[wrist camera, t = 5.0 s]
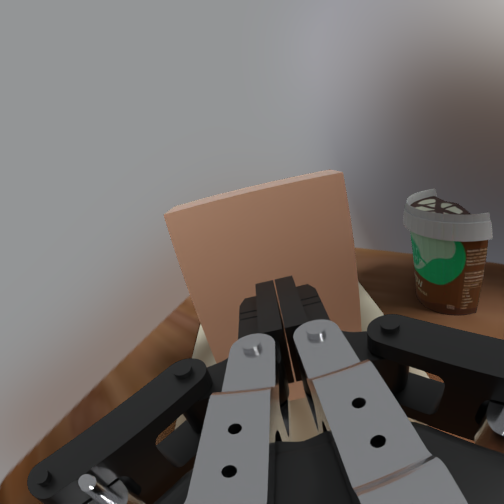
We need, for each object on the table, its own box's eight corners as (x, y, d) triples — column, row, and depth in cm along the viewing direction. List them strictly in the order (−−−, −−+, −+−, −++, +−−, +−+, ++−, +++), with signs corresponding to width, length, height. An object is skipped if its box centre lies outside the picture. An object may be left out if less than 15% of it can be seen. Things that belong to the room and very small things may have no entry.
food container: (392, 276, 33) (386, 194, 29) (436, 267, 31) (433, 187, 28) (427, 336, 21) (431, 225, 18) (482, 320, 20) (493, 214, 17)
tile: (352, 359, 20) (328, 169, 16) (362, 382, 18) (342, 172, 13) (237, 385, 21) (175, 205, 16) (236, 409, 18) (163, 214, 14)
